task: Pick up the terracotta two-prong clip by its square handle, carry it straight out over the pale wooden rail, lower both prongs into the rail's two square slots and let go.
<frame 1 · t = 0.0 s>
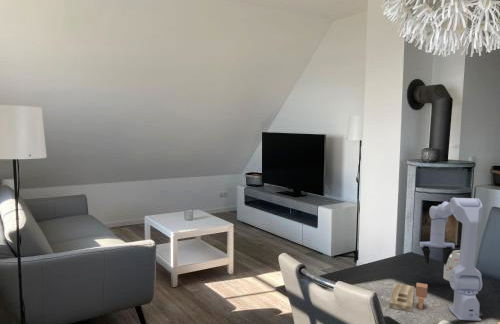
hand: (435, 263, 182), 10 cm above the table, tool pointing down, fingers open, 7 cm apart
clip: (420, 306, 161), on the table
ink cartridge box: (454, 279, 190), on the table
rail: (402, 298, 167), on the table
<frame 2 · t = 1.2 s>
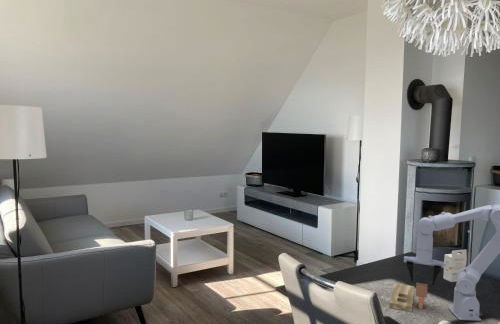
hand: (422, 282, 161), 9 cm above the table, tool pointing down, fingers open, 7 cm apart
nothing on the table moved.
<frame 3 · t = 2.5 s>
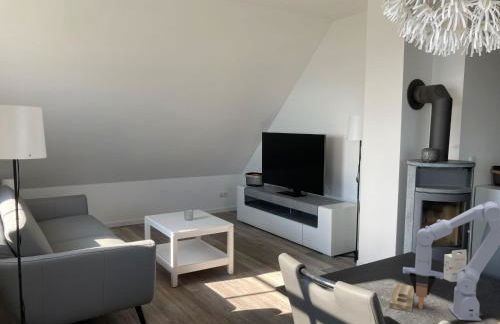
hand: (421, 293, 161), 5 cm above the table, tool pointing down, fingers closed on clip, 4 cm apart
clip: (420, 306, 161), on the table, touching gripper
everything else where it was.
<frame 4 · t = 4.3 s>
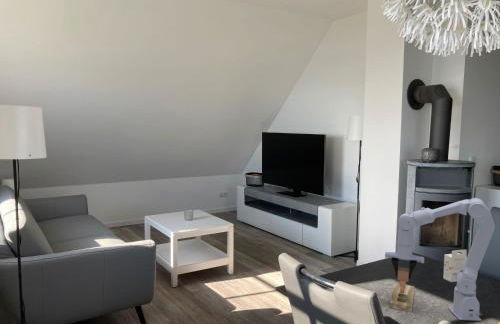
hand: (403, 277, 163), 10 cm above the table, tool pointing down, fingers closed on clip, 4 cm apart
clip: (402, 290, 163), point 5 cm above the table, touching gripper
everything else where it was.
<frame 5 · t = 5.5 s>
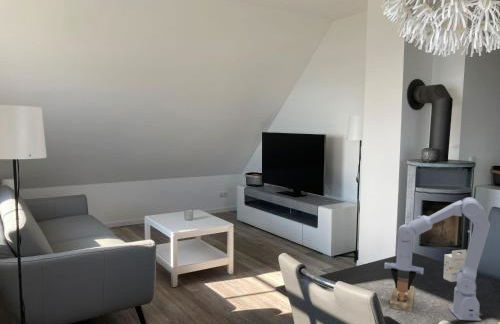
hand: (402, 288, 163), 6 cm above the table, tool pointing down, fingers closed on clip, 4 cm apart
clip: (401, 300, 164), point 1 cm above the table, touching gripper
everything else where it was.
when the fingers open (6 cm above the table, at t = 6.6 s): clip stays where it is, resting in rail.
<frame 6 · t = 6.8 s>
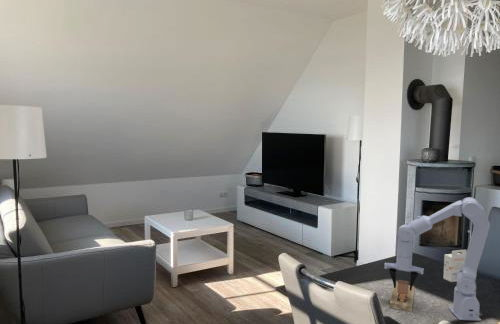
hand: (402, 288, 163), 6 cm above the table, tool pointing down, fingers open, 5 cm apart
clip: (402, 302, 164), resting in rail
everything else where it was.
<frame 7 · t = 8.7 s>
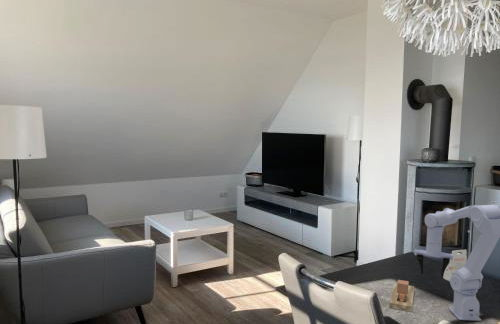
hand: (432, 274, 170), 9 cm above the table, tool pointing down, fingers open, 7 cm apart
nothing on the table moved.
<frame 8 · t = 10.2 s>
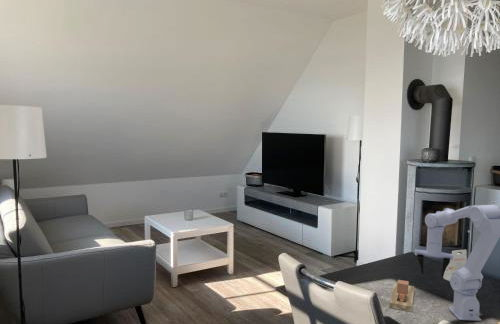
hand: (432, 273, 170), 9 cm above the table, tool pointing down, fingers open, 7 cm apart
nothing on the table moved.
at the end: clip 0.1 cm from the target spot on the rail, point 0.0 cm above the rail's base; clip tilted 0°; the gripper is holding nothing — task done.
